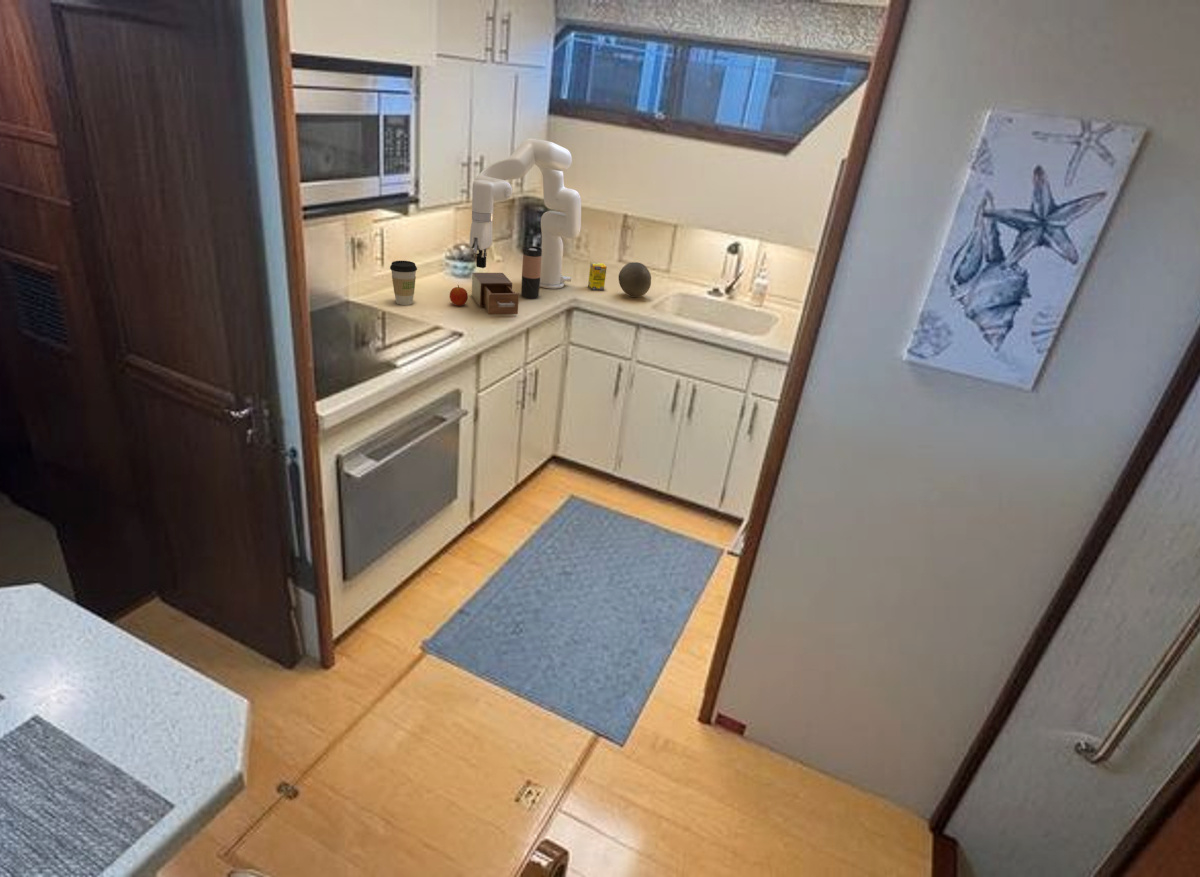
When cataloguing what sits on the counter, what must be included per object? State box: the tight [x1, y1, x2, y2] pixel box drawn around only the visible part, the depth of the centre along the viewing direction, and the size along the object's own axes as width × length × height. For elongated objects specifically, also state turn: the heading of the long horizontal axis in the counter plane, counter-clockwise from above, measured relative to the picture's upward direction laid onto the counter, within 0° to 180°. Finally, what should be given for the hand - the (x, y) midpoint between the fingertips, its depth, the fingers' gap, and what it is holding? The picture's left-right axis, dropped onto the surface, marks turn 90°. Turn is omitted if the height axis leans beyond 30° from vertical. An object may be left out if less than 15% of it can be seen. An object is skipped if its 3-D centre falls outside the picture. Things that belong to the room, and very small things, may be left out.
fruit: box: [449, 284, 469, 307], centre depth 267 cm, size 7×7×8 cm
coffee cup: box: [389, 260, 418, 306], centre depth 261 cm, size 10×10×15 cm
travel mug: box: [520, 245, 542, 300], centre depth 285 cm, size 8×8×20 cm
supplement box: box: [587, 262, 607, 292], centre depth 308 cm, size 6×6×11 cm
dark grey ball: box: [618, 262, 652, 298], centre depth 301 cm, size 14×14×15 cm
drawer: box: [482, 285, 520, 315], centre depth 264 cm, size 18×11×8 cm, turn 22°
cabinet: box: [471, 272, 513, 308], centre depth 275 cm, size 15×13×10 cm
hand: (481, 267), depth 258 cm, fingers closed
